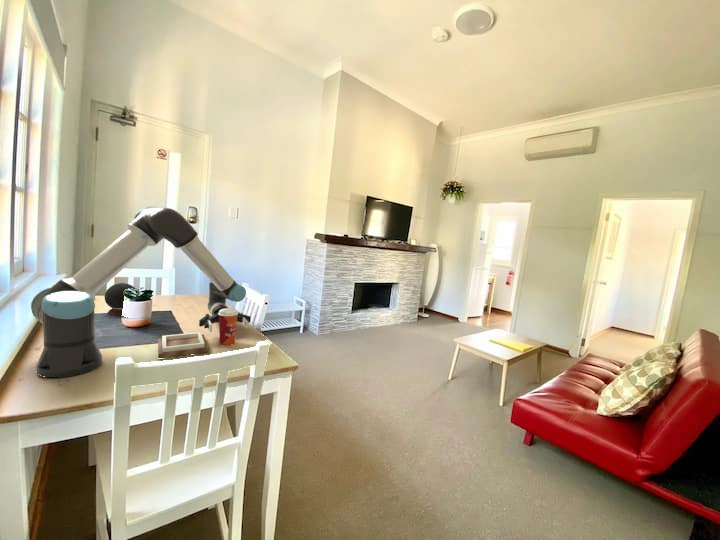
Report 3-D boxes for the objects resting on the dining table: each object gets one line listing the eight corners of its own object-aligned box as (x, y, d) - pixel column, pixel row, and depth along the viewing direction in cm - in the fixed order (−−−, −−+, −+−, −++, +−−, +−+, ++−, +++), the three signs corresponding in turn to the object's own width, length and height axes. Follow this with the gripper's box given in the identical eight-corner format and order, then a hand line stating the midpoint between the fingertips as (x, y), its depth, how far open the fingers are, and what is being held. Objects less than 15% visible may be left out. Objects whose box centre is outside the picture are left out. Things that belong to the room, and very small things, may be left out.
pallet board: (158, 359, 107) (158, 350, 107) (158, 343, 121) (158, 335, 120) (208, 353, 116) (208, 344, 116) (203, 338, 129) (203, 330, 129)
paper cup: (229, 347, 123) (231, 313, 121) (212, 344, 124) (213, 311, 122) (241, 341, 130) (242, 309, 129) (225, 338, 132) (226, 306, 130)
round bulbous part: (130, 317, 148) (130, 286, 146) (98, 316, 145) (98, 285, 143) (143, 309, 161) (143, 281, 159) (113, 309, 158) (113, 280, 156)
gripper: (248, 318, 148) (260, 332, 131) (189, 323, 135) (194, 339, 117) (249, 303, 147) (261, 315, 130) (189, 306, 134) (194, 320, 116)
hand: (229, 326), depth 123 cm, fingers open, 13 cm apart
